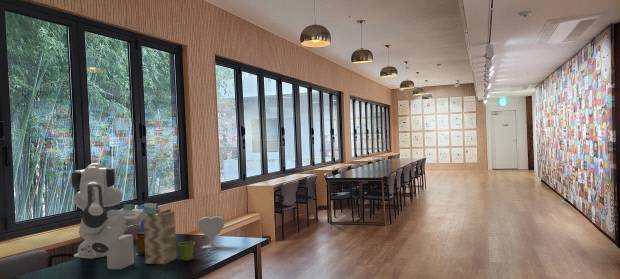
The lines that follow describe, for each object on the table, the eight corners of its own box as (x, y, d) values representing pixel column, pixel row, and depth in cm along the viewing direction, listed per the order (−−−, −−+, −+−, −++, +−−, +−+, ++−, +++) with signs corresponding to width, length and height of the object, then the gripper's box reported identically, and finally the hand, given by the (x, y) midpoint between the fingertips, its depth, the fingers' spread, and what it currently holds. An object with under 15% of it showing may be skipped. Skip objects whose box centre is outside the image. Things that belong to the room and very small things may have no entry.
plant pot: (194, 256, 254) (194, 240, 254) (196, 260, 245) (196, 244, 245) (177, 258, 251) (176, 242, 251) (178, 262, 242) (178, 246, 242)
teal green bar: (123, 210, 224) (124, 199, 225) (150, 214, 243) (151, 204, 245) (129, 210, 223) (130, 199, 224) (155, 214, 242) (156, 204, 244)
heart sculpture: (198, 248, 273) (197, 218, 273) (199, 246, 278) (198, 217, 278) (224, 246, 275) (223, 216, 274) (225, 244, 280) (224, 215, 279)
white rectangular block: (107, 268, 236) (106, 239, 236) (121, 263, 246) (119, 234, 246) (121, 269, 234) (119, 239, 234) (134, 263, 244) (132, 234, 244)
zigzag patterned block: (145, 263, 243) (143, 212, 243) (157, 258, 254) (154, 209, 253) (165, 264, 240) (163, 212, 240) (176, 258, 251) (174, 208, 251)
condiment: (138, 252, 270) (137, 232, 270) (152, 251, 271) (151, 231, 271) (134, 255, 263) (133, 234, 263) (149, 254, 264) (148, 233, 264)
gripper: (134, 219, 213) (149, 201, 224) (97, 219, 217) (113, 201, 229) (139, 229, 216) (153, 210, 227) (102, 229, 221) (117, 211, 232)
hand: (132, 206), depth 228 cm, fingers closed on teal green bar, 4 cm apart
